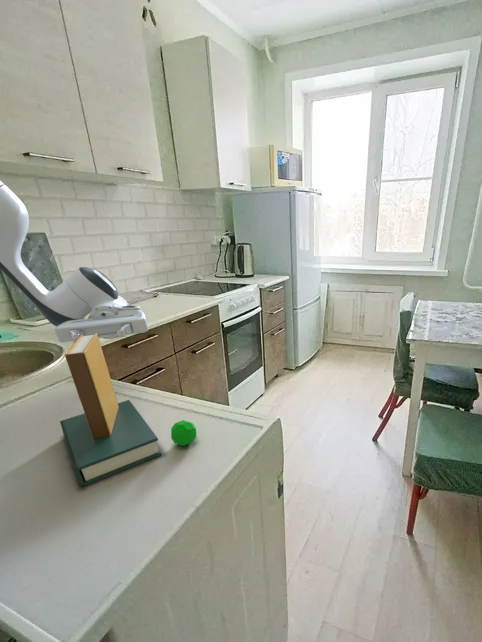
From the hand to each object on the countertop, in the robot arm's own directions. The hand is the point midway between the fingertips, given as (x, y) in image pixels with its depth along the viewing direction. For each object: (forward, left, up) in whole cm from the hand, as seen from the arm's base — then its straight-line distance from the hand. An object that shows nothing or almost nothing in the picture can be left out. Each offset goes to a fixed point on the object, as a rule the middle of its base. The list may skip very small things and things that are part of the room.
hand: (98, 336), depth 80 cm
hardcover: (+13, -14, -18) cm, 26 cm away
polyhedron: (+27, -8, -18) cm, 33 cm away
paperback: (+11, -12, -14) cm, 21 cm away
